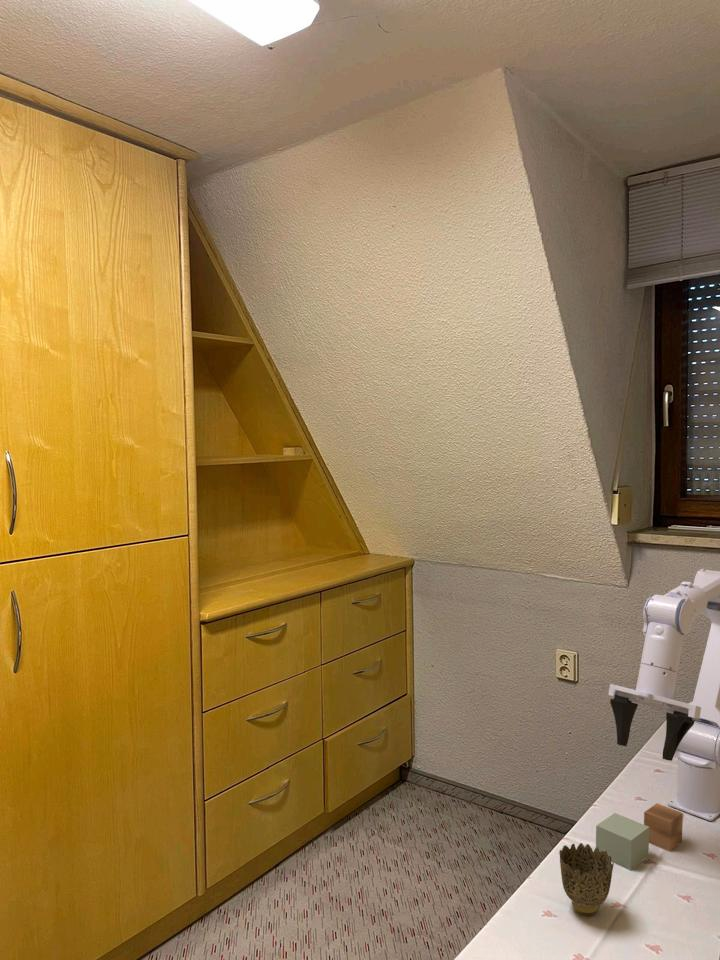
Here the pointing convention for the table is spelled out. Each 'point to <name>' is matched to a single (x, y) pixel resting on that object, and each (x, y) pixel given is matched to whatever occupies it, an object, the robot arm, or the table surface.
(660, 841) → the walnut block
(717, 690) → the robot arm
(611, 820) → the grey block
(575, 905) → the cup
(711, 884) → the table surface
